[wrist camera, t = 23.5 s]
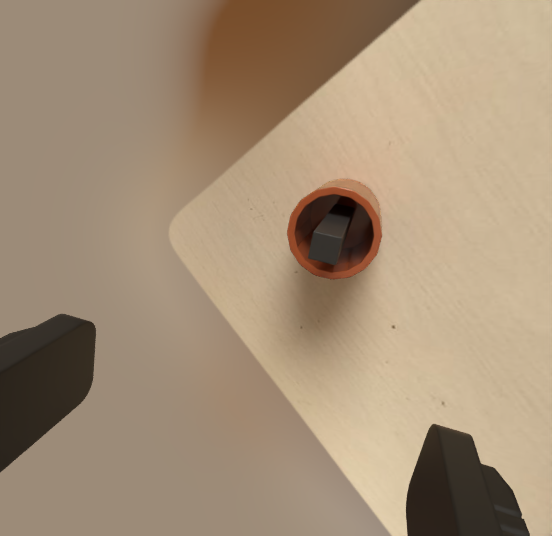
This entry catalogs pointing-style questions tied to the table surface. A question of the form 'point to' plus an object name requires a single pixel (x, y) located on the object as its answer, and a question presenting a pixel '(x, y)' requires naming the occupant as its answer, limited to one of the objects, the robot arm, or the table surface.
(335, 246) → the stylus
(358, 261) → the pen cup
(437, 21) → the table surface
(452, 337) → the table surface
